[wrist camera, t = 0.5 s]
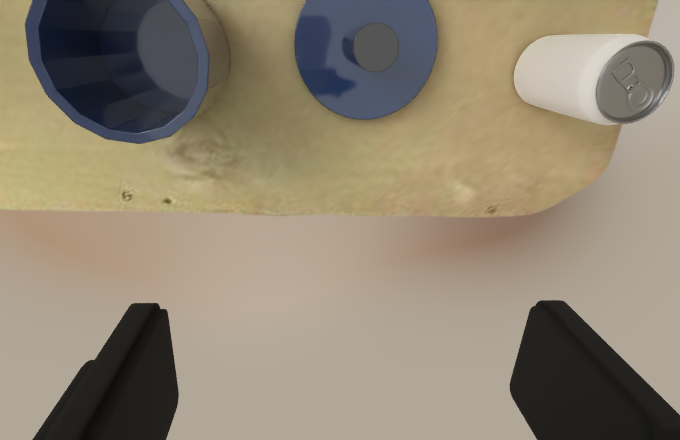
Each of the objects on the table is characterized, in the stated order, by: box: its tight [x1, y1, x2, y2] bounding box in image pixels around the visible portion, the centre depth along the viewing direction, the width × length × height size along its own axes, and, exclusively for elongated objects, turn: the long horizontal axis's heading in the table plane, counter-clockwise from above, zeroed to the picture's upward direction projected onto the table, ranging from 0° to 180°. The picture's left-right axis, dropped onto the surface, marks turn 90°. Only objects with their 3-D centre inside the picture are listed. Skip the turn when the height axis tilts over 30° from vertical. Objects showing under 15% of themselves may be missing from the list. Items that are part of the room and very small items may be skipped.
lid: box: [295, 0, 438, 120], centre depth 35 cm, size 13×13×6 cm
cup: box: [25, 0, 230, 144], centre depth 32 cm, size 12×12×10 cm
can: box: [514, 34, 674, 125], centre depth 35 cm, size 6×6×12 cm
